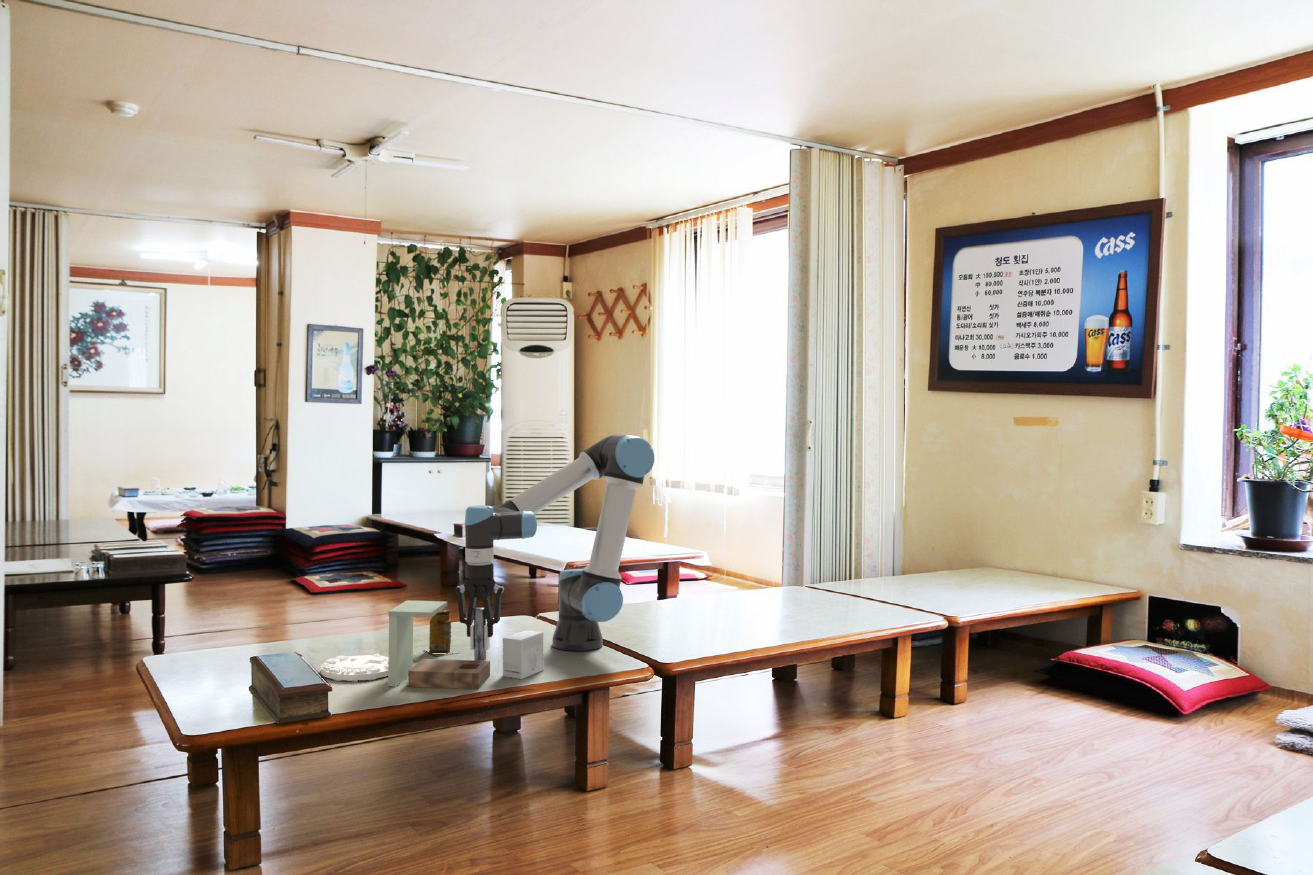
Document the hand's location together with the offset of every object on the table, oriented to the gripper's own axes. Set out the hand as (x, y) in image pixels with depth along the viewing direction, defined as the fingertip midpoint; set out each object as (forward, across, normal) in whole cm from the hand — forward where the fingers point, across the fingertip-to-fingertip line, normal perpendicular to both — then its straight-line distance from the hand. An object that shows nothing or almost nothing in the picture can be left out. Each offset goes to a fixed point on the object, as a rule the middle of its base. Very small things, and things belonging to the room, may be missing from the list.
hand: (480, 648), depth 255 cm
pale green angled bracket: (+5, -13, -13) cm, 19 cm away
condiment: (+6, -16, +16) cm, 23 cm away
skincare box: (+6, +12, -3) cm, 14 cm away
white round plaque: (+5, -31, -7) cm, 32 cm away
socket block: (+5, -4, -13) cm, 15 cm away
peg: (+3, 0, 0) cm, 3 cm away
